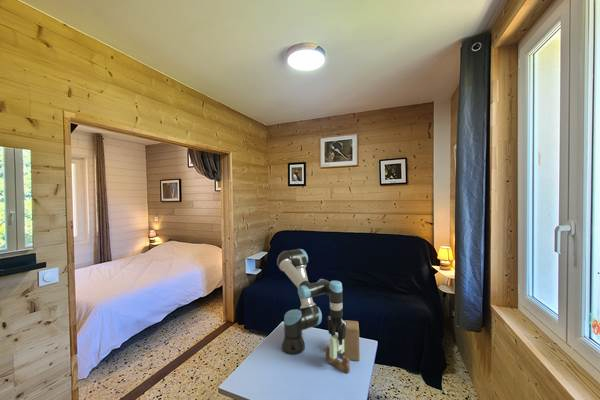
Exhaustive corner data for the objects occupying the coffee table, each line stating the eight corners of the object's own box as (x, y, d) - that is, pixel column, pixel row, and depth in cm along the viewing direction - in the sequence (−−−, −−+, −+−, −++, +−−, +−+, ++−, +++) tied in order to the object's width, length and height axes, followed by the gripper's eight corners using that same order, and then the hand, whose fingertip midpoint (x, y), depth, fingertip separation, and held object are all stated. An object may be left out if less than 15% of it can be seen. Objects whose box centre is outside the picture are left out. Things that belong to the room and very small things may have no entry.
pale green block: (333, 359, 141) (333, 340, 141) (329, 356, 143) (329, 337, 143) (344, 351, 148) (343, 333, 148) (340, 349, 150) (339, 331, 150)
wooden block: (359, 361, 149) (359, 328, 149) (342, 359, 151) (342, 327, 151) (359, 351, 159) (358, 320, 159) (343, 350, 161) (342, 319, 161)
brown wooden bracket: (325, 360, 151) (325, 347, 151) (328, 359, 152) (327, 346, 152) (347, 374, 139) (347, 359, 139) (349, 372, 140) (349, 358, 140)
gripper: (321, 306, 149) (322, 345, 149) (343, 314, 137) (344, 357, 137) (329, 302, 154) (330, 340, 154) (351, 310, 142) (352, 351, 142)
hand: (337, 348), depth 145 cm, fingers closed on pale green block, 3 cm apart
